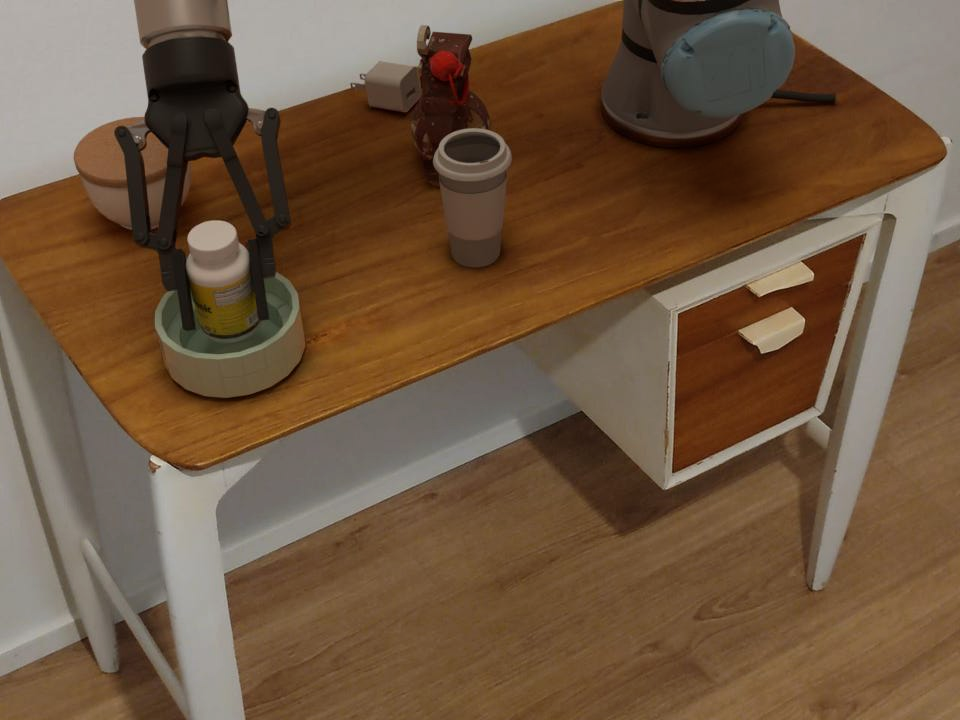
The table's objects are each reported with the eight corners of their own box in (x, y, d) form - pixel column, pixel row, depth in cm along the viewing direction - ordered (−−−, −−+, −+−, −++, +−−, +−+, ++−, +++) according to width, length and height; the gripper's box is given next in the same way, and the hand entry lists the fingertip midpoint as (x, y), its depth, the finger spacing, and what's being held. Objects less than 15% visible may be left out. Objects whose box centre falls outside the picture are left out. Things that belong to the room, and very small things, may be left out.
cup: (454, 283, 120) (449, 176, 112) (427, 242, 125) (420, 136, 117) (524, 262, 122) (524, 155, 114) (495, 223, 127) (493, 118, 119)
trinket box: (177, 251, 125) (158, 170, 118) (73, 239, 127) (49, 158, 120) (216, 186, 132) (200, 106, 126) (117, 175, 134) (97, 97, 128)
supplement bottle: (192, 314, 113) (171, 224, 106) (253, 296, 115) (235, 207, 108) (208, 352, 109) (187, 262, 103) (270, 334, 111) (254, 244, 104)
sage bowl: (300, 298, 119) (293, 256, 116) (311, 390, 110) (304, 347, 107) (165, 316, 118) (155, 273, 114) (165, 411, 109) (154, 367, 106)
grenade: (479, 193, 130) (475, 61, 120) (401, 185, 132) (390, 54, 121) (498, 141, 137) (496, 11, 127) (423, 134, 138) (415, 5, 128)
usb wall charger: (416, 63, 140) (421, 96, 143) (361, 55, 143) (367, 88, 146) (398, 81, 138) (404, 114, 140) (343, 73, 141) (349, 105, 143)
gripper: (300, 46, 112) (338, 312, 112) (83, 71, 110) (121, 342, 110) (297, 20, 105) (337, 305, 104) (64, 46, 103) (104, 337, 102)
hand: (226, 323), depth 107 cm, fingers closed on supplement bottle, 5 cm apart
